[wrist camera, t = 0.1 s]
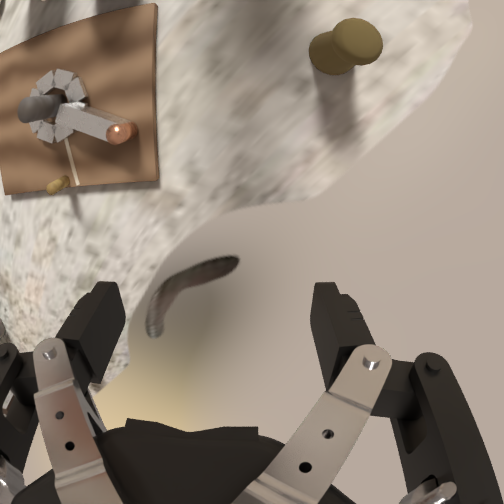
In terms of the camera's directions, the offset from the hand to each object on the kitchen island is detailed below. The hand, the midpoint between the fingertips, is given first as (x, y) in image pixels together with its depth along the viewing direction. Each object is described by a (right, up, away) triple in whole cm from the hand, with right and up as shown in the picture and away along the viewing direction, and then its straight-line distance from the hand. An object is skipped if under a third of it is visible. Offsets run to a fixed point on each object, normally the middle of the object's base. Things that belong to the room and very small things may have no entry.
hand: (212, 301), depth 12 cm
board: (-25, +22, +21) cm, 39 cm away
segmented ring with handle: (-21, +20, +20) cm, 35 cm away
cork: (+12, +27, +19) cm, 35 cm away
